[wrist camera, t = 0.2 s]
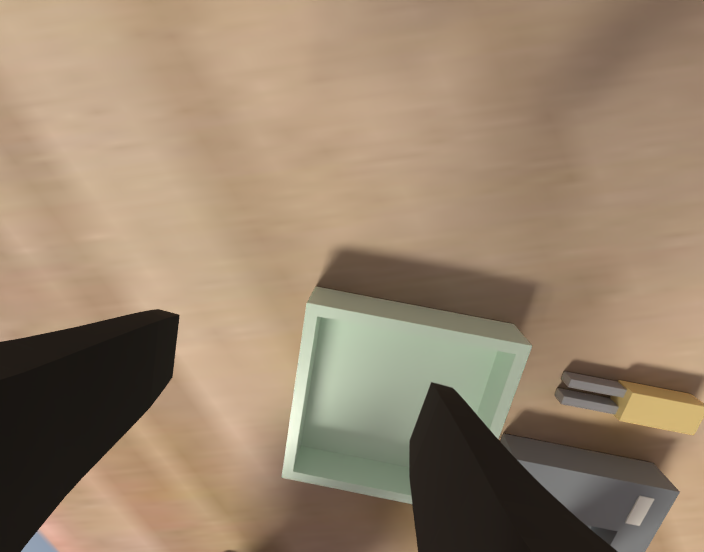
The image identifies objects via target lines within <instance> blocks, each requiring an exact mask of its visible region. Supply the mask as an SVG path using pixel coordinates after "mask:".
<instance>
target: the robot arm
mask: <svg viewBox="0 0 704 552" xmlns="http://www.w3.org/2000/svg"><path fill="white" fill-rule="evenodd" d="M178 324H179V315H178V314H174V313H171V312H167V311H163V310H159V309H157V310H149V311H144V312H139V313H134V314H130V315H125V316H121V317H117V318H113V319H108V320H104V321H100V322H96V323H91V324H87V325H83V326H79V327H74V328H69V329H65V330H60V331H55V332H50V333H45V334H40V335H36V336H31V337H26V338H21V339H15V340H9V341H3V342H0V552H21V551H22V549H23V548H24V547H25V545H26V544H27V543H28V541H29V540H30V539H31V538H32V537H33V535H34V534H35V533H36V532H37V531H38V529H39V528H40V527H41V526H42V524H43V523H44V522H45V521H46V520H47V518H48V517H49V516H50V515H51V513H52V512H53V511H54V510H55V508H56V507H57V506H58V505H59V504H60V502H61V501H62V500H63V499H64V497H65V496H66V495H67V494H68V493H69V492H70V491H71V490H72V489H73V487H74V486H75V485H76V484H77V483H78V482H79V481H80V480H81V479H82V478H83V477H84V476H85V475H86V473H87V472H88V471H89V470H90V469H91V468H92V467H93V466H94V465H95V464H96V463H97V462H98V461H99V460H100V459H101V458H102V457H103V456H104V455H105V454H106V453H107V452H108V451H109V450H110V449H111V448H112V447H113V446H114V445H115V444H116V443H117V442H118V441H119V439H120V438H121V437H122V436H123V435H124V434H125V433H126V432H127V431H128V430H129V429H130V428H131V427H132V426H133V425H134V424H135V423H136V422H137V421H138V420H139V419H140V418H141V417H142V416H143V414H144V413H145V412H146V411H147V410H148V409H149V408H150V407H151V406H152V404H153V403H154V402H155V400H156V399H157V398H158V396H159V395H160V394H161V392H162V391H163V390H164V388H165V387H166V385H167V384H168V383H169V381H170V380H171V378H172V376H173V367H174V358H175V350H176V341H177V332H178ZM409 478H410V488H411V496H412V505H413V513H414V521H415V529H416V537H417V545H418V552H618V551H617V550H615V549H614V548H613V547H612V546H610V545H609V544H608V543H607V542H606V541H604V540H603V539H602V538H601V537H599V536H598V535H597V534H596V533H594V532H593V531H592V530H591V529H590V528H589V527H587V526H586V525H585V524H584V523H583V522H582V521H580V520H579V519H578V518H577V517H576V516H575V515H574V514H573V513H571V512H570V511H569V510H568V509H567V508H566V507H565V506H564V505H563V504H562V503H561V502H559V501H558V500H557V499H556V498H555V497H554V496H553V495H552V494H551V493H550V492H549V491H547V490H546V489H545V488H544V487H543V486H542V485H541V484H540V483H539V482H538V481H537V480H536V479H535V478H534V477H533V476H532V475H531V474H530V473H529V472H528V471H527V470H526V469H525V468H524V466H523V465H522V464H521V463H520V462H519V461H518V460H517V459H516V458H515V457H514V456H513V455H512V454H511V453H510V452H509V451H508V450H507V448H506V447H505V446H504V445H503V444H502V443H501V442H500V441H499V440H498V438H497V437H496V436H495V435H494V434H493V433H492V432H491V431H490V429H489V428H488V427H487V426H486V425H485V424H484V422H483V421H482V420H481V419H480V418H479V417H478V415H477V414H476V413H475V412H474V411H473V410H472V408H471V407H470V406H469V405H468V404H467V403H466V401H465V400H464V399H463V398H462V397H461V396H460V395H459V394H458V392H457V391H456V390H455V389H454V388H452V387H448V386H444V385H441V384H437V383H433V382H431V384H430V387H429V389H428V392H427V395H426V398H425V400H424V403H423V406H422V408H421V411H420V414H419V416H418V419H417V422H416V424H415V427H414V430H413V432H412V435H411V438H410V441H409Z"/></svg>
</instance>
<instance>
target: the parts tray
mask: <svg viewBox="0 0 704 552" xmlns="http://www.w3.org/2000/svg"><path fill="white" fill-rule="evenodd" d="M531 348H532V345H531V344H530V343H529V341H528V340H527V339H526V338H525V337H524V335H523V334H522V333H521V332H520V331H519V329H518V328H517V327H516V326H515V325H514V324H511V323H506V322H501V321H495V320H490V319H485V318H479V317H474V316H469V315H464V314H458V313H453V312H448V311H443V310H437V309H432V308H427V307H422V306H416V305H411V304H406V303H401V302H395V301H390V300H385V299H379V298H374V297H369V296H364V295H358V294H353V293H348V292H343V291H337V290H332V289H327V288H322V287H315V289H314V290H313V292H312V294H311V296H310V298H309V300H308V301H307V304H306V311H305V318H304V325H303V332H302V339H301V346H300V353H299V360H298V367H297V374H296V381H295V388H294V395H293V401H292V408H291V415H290V422H289V429H288V436H287V443H286V450H285V457H284V464H283V471H282V478H286V479H291V480H296V481H301V482H305V483H310V484H315V485H320V486H325V487H330V488H335V489H340V490H345V491H350V492H355V493H359V494H364V495H369V496H374V497H379V498H384V499H389V500H394V501H399V502H404V503H409V504H412V496H411V488H410V478H409V441H410V438H411V435H412V432H413V430H414V427H415V424H416V422H417V419H418V416H419V414H420V411H421V408H422V406H423V403H424V400H425V398H426V395H427V392H428V389H429V387H430V384H431V382H433V383H437V384H441V385H444V386H448V387H452V388H454V389H455V390H456V391H457V392H458V394H459V395H460V396H461V397H462V398H463V399H464V400H465V401H466V403H467V404H468V405H469V406H470V407H471V408H472V410H473V411H474V412H475V413H476V414H477V415H478V417H479V418H480V419H481V420H482V421H483V422H484V424H485V425H486V426H487V427H488V428H489V429H490V431H491V432H492V433H493V434H494V435H495V436H496V437H497V438H498V439H499V436H500V433H501V431H502V428H503V425H504V422H505V420H506V417H507V414H508V411H509V409H510V406H511V403H512V400H513V398H514V395H515V392H516V389H517V387H518V384H519V381H520V378H521V375H522V373H523V370H524V367H525V364H526V362H527V359H528V356H529V353H530V351H531Z"/></svg>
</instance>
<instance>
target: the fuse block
mask: <svg viewBox="0 0 704 552" xmlns="http://www.w3.org/2000/svg"><path fill="white" fill-rule="evenodd" d="M500 442H501V443H502V444H503V445H504V446H505V447H506V448H507V450H508V451H509V452H510V453H511V454H512V455H513V456H514V457H515V458H516V459H517V460H518V461H519V462H520V463H521V464H522V465H523V466H524V468H525V469H526V470H527V471H528V472H529V473H530V474H531V475H532V476H533V477H534V478H535V479H536V480H537V481H538V482H539V483H540V484H541V485H542V486H543V487H544V488H545V489H546V490H547V491H549V492H550V493H551V494H552V495H553V496H554V497H555V498H556V499H557V500H558V501H559V502H561V503H562V504H563V505H564V506H565V507H566V508H567V509H568V510H569V511H570V512H571V513H573V514H574V515H575V516H576V517H577V518H578V519H579V520H580V521H582V522H583V523H584V524H585V525H586V526H587V527H589V528H590V529H591V530H592V531H593V532H594V533H596V534H597V535H598V536H599V537H601V538H602V539H603V540H604V541H606V542H607V543H608V544H609V545H610V546H612V547H613V548H614V549H615V550H617V551H618V552H645V551H646V549H647V548H648V546H649V544H650V542H651V541H652V539H653V537H654V536H655V534H656V532H657V530H658V529H659V527H660V525H661V524H662V522H663V520H664V518H665V517H666V515H667V513H668V512H669V510H670V508H671V506H672V505H673V503H674V501H675V500H676V498H677V496H678V494H679V493H680V492H679V491H678V489H677V488H676V487H675V486H674V485H673V484H672V483H671V482H670V481H669V480H668V479H667V477H666V476H665V475H664V474H663V473H662V472H661V471H660V470H659V469H658V468H657V466H656V465H655V464H654V463H651V462H645V461H640V460H635V459H630V458H625V457H620V456H615V455H610V454H605V453H600V452H595V451H590V450H585V449H580V448H575V447H569V446H564V445H559V444H554V443H549V442H544V441H539V440H534V439H529V438H524V437H519V436H514V435H509V434H504V433H503V435H502V438H501V441H500Z"/></svg>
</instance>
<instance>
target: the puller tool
mask: <svg viewBox="0 0 704 552" xmlns="http://www.w3.org/2000/svg"><path fill="white" fill-rule="evenodd" d="M561 379H562V381H563V382H564V383H565V384H566V385H567V386H568V387H570V388H575V389H581V390H586V391H591V392H596V393H601V394H606V395H611V397H610V398H608V397H602V396H597V395H592V394H587V393H582V392H577V391H571V390H566V389H561V388H557V390H556V392H555V397H556V398H557V399H558V401H559V402H560V403H561V404H564V405H569V406H574V407H579V408H584V409H590V410H595V411H600V412H605V413H610V414H613V415H614V416H615V417H616V418H617V419H618V420H619V421H622V422H627V423H633V424H638V425H643V426H648V427H653V428H658V429H663V430H668V431H674V432H679V433H684V434H689V435H694V434H695V432H696V430H697V429H698V427H699V425H700V423H701V422H702V420H703V418H704V403H702V402H701V401H700V400H698V399H697V398H696V397H694V396H693V395H691V394H689V393H684V392H678V391H673V390H668V389H663V388H658V387H652V386H647V385H642V384H637V383H632V382H626V381H621V380H618V381H613V380H607V379H602V378H597V377H592V376H587V375H581V374H576V373H571V372H566V371H564V373H563V375H562V378H561Z"/></svg>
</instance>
